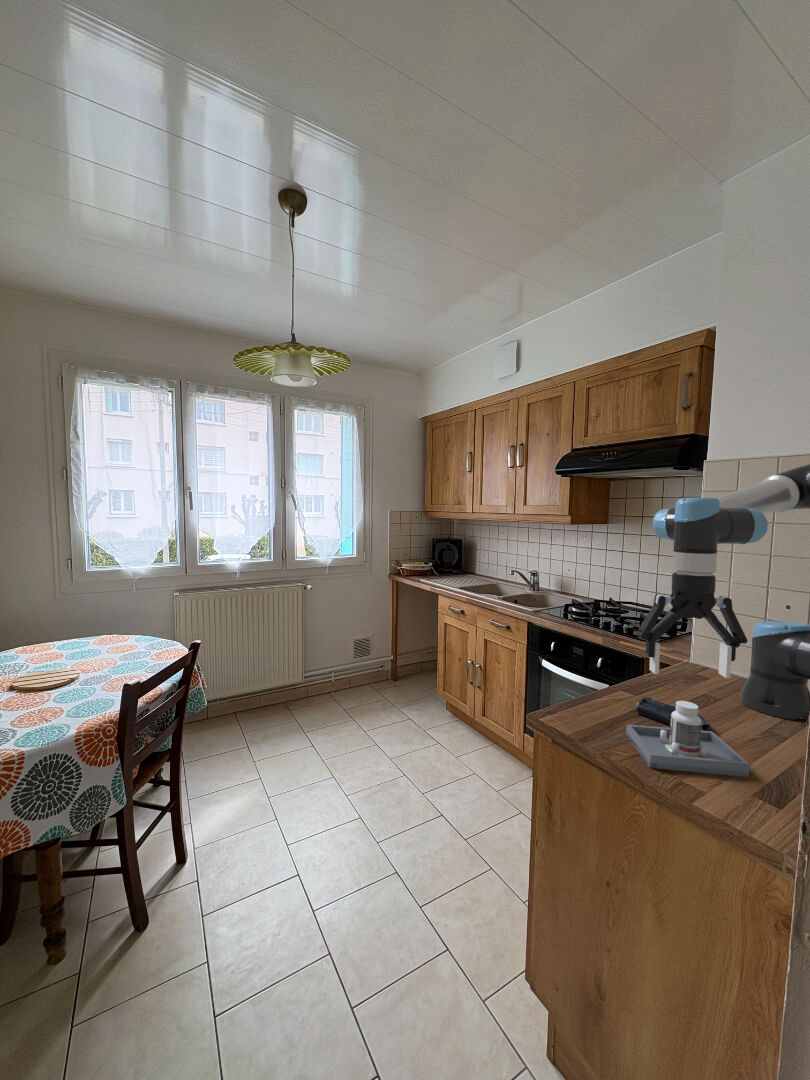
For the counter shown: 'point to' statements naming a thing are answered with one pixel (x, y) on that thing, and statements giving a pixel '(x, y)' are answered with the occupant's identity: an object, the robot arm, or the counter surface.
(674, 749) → the tray
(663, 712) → the electronic device
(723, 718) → the counter surface
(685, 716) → the pill bottle
